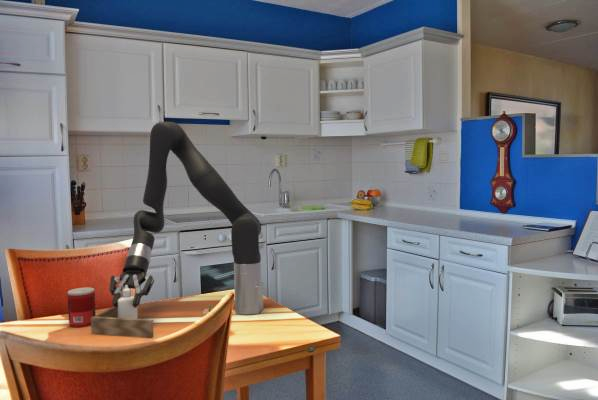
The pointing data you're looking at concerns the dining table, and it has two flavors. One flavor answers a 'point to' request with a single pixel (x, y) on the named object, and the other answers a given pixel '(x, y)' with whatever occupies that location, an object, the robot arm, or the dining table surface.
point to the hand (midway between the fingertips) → (124, 306)
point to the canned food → (81, 306)
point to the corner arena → (120, 325)
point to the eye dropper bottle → (126, 305)
